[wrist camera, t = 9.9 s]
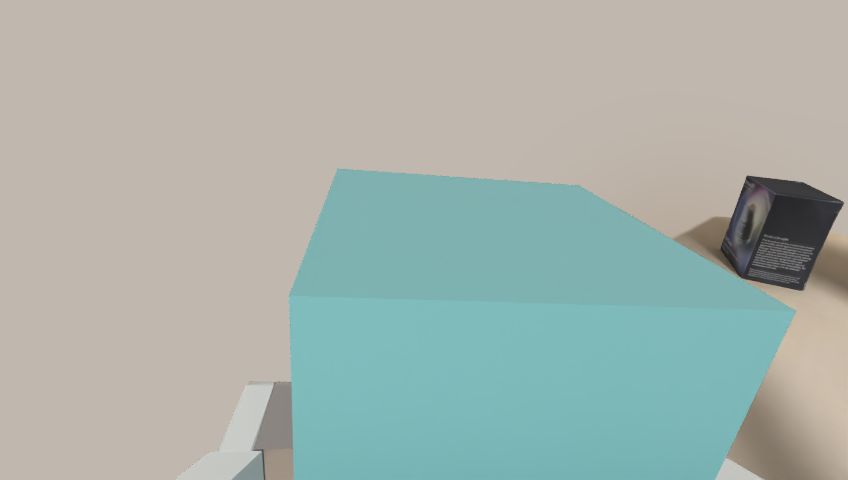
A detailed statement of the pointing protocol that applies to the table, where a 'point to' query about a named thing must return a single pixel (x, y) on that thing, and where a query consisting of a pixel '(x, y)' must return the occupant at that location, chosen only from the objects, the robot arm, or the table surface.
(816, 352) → the table surface
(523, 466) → the teal pillar
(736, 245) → the small box
